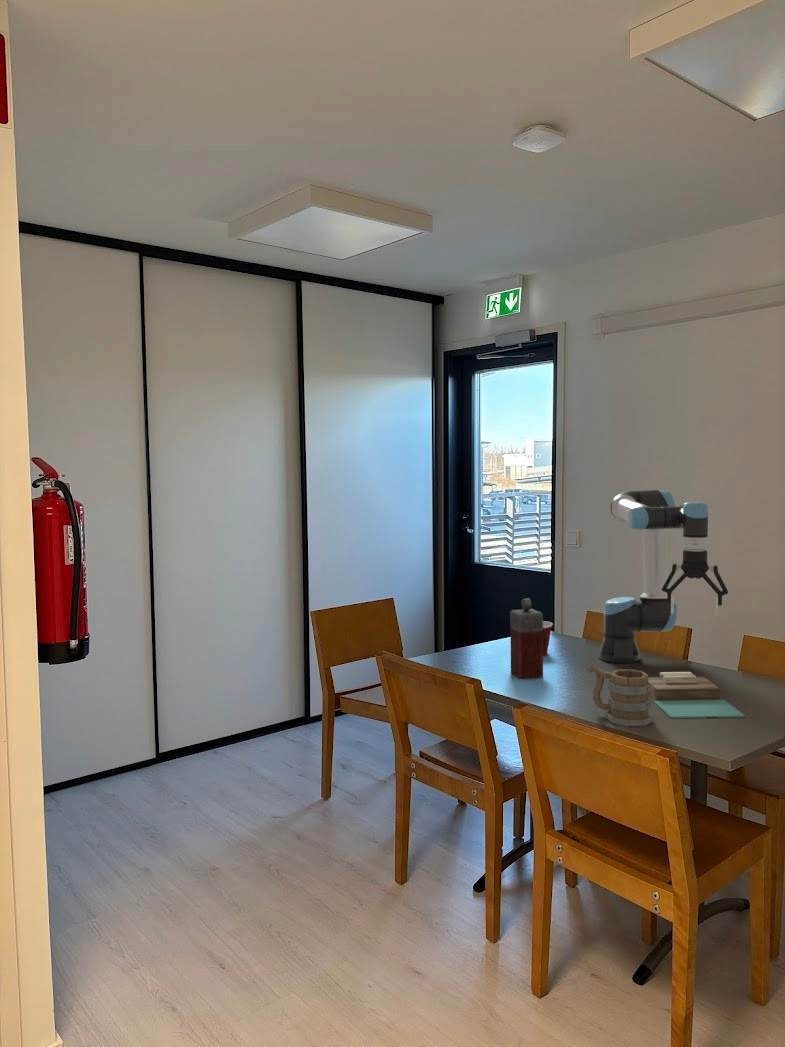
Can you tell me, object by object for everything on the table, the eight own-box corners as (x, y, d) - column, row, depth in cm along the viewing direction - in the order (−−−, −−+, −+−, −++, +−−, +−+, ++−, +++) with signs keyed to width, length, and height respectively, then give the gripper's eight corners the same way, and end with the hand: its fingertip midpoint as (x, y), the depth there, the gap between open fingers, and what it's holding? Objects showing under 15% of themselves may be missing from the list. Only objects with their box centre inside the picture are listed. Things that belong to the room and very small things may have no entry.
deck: (643, 689, 275) (643, 677, 274) (703, 688, 274) (703, 676, 274) (656, 701, 261) (656, 689, 260) (719, 700, 260) (719, 688, 260)
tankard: (658, 718, 244) (658, 669, 243) (639, 729, 235) (640, 678, 234) (597, 706, 257) (597, 659, 256) (577, 716, 248) (577, 667, 247)
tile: (659, 678, 273) (659, 672, 273) (689, 677, 273) (689, 671, 273) (665, 683, 267) (665, 677, 267) (696, 682, 267) (696, 676, 267)
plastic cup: (520, 651, 331) (520, 621, 330) (544, 648, 335) (544, 619, 334) (533, 657, 321) (533, 627, 320) (558, 654, 324) (557, 624, 323)
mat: (654, 702, 260) (654, 700, 260) (723, 701, 260) (723, 699, 260) (670, 718, 244) (670, 716, 244) (744, 717, 244) (744, 715, 244)
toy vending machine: (549, 677, 292) (549, 599, 290) (519, 679, 289) (519, 601, 287) (539, 670, 301) (538, 595, 298) (510, 673, 298) (509, 597, 296)
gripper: (653, 549, 267) (653, 614, 269) (736, 552, 258) (735, 618, 260) (655, 547, 274) (655, 609, 276) (736, 549, 265) (735, 614, 267)
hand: (694, 614), depth 268 cm, fingers open, 13 cm apart
